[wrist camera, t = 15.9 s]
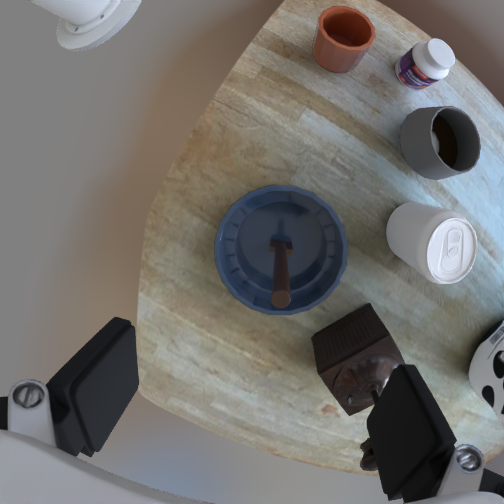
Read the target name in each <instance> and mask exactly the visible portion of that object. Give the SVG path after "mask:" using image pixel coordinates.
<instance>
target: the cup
mask: <svg viewBox="0 0 504 504" xmlns="http://www.w3.org/2000/svg"><path fill="white" fill-rule="evenodd" d="M400 145H401V150H402V153H403V155H404V157H405V160H406V161H407V163H408V164H409V165H410V166H411V168H412V169H413V170H414V171H415V172H417V173H418V174H420V175H421V176H423V177H424V178H429V179H433V180H439V179H444V178H448V177H451V176H455V175H458V174H461V173H465V172H468V171H470V170H471V169H472V168H473V167H474V166H475V165H476V163H477V161H478V159H479V156H480V149H481V145H480V137H479V134H478V131H477V128H476V126H475V124H474V123H473V121H472V120H471V118H470V117H469V116H468V115H467V114H466V113H465V112H463V111H462V110H461V109H458V108H456V107H453V106H444V107H428V108H419V109H416V110H415V111H413V112H412V113H410V114H409V115H408V116H407V117H406V119H405V121H404V122H403V124H402V126H401V132H400Z"/></svg>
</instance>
